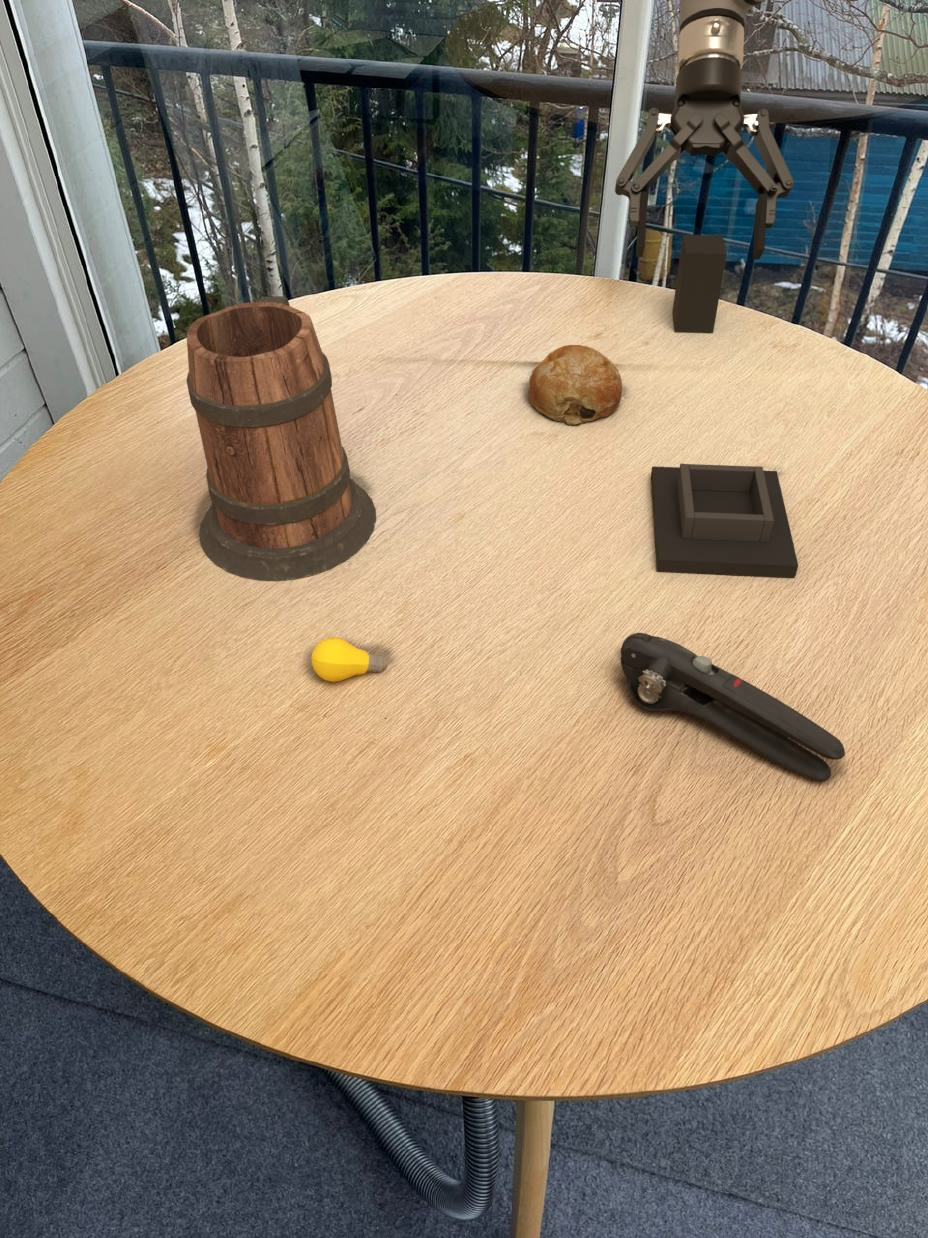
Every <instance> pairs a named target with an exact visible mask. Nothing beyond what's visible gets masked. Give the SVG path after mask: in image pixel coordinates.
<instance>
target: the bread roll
mask: <svg viewBox="0 0 928 1238" xmlns="http://www.w3.org/2000/svg"><path fill="white" fill-rule="evenodd" d="M622 381H623V380H622V376H621V373H620V371H619V369H618V368H617V366H616V365H615V363H613V361H612V360H611V359H610V358H608V357H606V356H605V355H604V354H603V353H602V352H600V351H599V350H596V349H595V348H593V347H589V346H587V345H581V344H567V345H563V346H560V347H558V348H556V349H555V350H553V351H551V352H549V353H548V354H547V355H546V357H545V358H543V360H542V361H541V362H539V363H537V364H536V365H535V366H534V368H533V369H532V371H531V374H530V376H529V381H528V382H529V384H528V385H529V390H528V397H529V398H528V399H529V401H530V404H531V405H532V406H533V407H534V408H535V409H536V410H537V412H539V413H541V414H543V415H544V416H546V417H547V418H549V419H551V420H553V421H556V422H557V421H558V422H561V423H566V424H567V425H569V426H574V425H578V424H582V423H583V424H584V423H586V422H587V423H588V422H593V421H596V420H598V419H601V418H607V417H608V416H610V415H612V414H613V413H614V412H615V411H616V410H617V408H618V406H619V405H620V403H621V399H622V395H623V394H622V393H623V382H622Z"/></svg>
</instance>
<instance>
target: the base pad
mask: <svg viewBox="0 0 928 1238" xmlns="http://www.w3.org/2000/svg"><path fill="white" fill-rule="evenodd" d="M650 491H651V505H652V521H653V536H654V549H655V551H654V552H655V565H656V568H655V569H656V572H657V573H678V574H679V573H681V574H699V575H700V574H702V575H720V576H722V575H723V576H742V577H743V576H744V577H761V578H762V577H764V578H782V579H783V578H785V579H795V578H796V576H797V572H798V568H799V561H798V558H797V554H796V549H795V544H794V540H793V536H792V532H791V527H790V523H789V518H788V513H787V510H786V504H785V501H784V496H783V493H782V488H781V483H780V479H779V474H778V471H777V470H764V467H763V466H757V465H756V466H755V465H754V466H753V465H752V466H750V465H728V464H727V465H726V464H724V465H723V464H700V463H699V464H697V463H689V464H688V463H680V464H679V467H678V466H652V467H651V472H650Z"/></svg>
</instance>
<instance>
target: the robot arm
mask: <svg viewBox="0 0 928 1238" xmlns="http://www.w3.org/2000/svg"><path fill="white" fill-rule="evenodd" d="M765 1H766V0H680V13H679V30H678V41H677V54H676V55H677V56H676V57H677V59H676V74H677V75H676V78H675V92H674V93H675V94H674V110H673V112H672V113H662V112H660V110H659V109H658V108H657V107H651V108H650V109H649V111H648V115H647V119H646V124H645V128H644V129H643V132H642V133H641V135H640V137H639V139H638V140H637V142H636V144H635V146H634V148H633V149H632V151H631V153H630V155H629V156H628V158H627V160H626V162H625V164H624V165H623V167H622V169H621V171H620V172H619V174H618V176H617V178H616V180H615V187H614V193H615V194H616V195H617V196H625V197H627V199H628V200H629V201H628V202H629V204H628V205H629V207H628V209H629V210H628V225H629V227H637V231H636V233H637V234H636V249H635V254H636V255H635V257H636V258H643V255H644V252H645V248H646V230H647V216H648V215H647V213H648V199H649V197H648V195H649V193H648V190H649V189H650V188H651V187H652V186H653V185H654V183H655V182H656V181H657V180H658V179H660V177H661V176H662V175H663V174H664V173H665V171H666V170H667V169H669V167H670V166H671V165H672V164H673V163H674V162H675V161H677V160H678V159H679V158H680V157H681V155H683V153H686V154H689V156H690V157H698V156H701V155H705V156H708V157H717V156H718V155H719V154H721V153H722V155H723V156H724V157H725V158H726V160H727V161H729V162H731V163H732V164H733V165H734V166H735V168H736V169H737V171H739V173H740V174H741V175H742V177H743V178H744V179H745V180H746V181H747V183H748V184H749V185H750V186H751V188H752V189H753V191H755V192H756V195H758V196H759V197H758V199H757V200H756V203H755V210H754V211H755V212H754V230H753V233H754V234H753V244H752V245H753V247H752V249H753V250H752V260H760V259H761V258H762V255H763V254H764V252H765V249H766V248H765V247H766V230H768V229H772V227H773V225H774V223H775V221H776V213H777V211H776V210H777V200H778V199H781V198H782V199H785V198H787V197H788V196H789V194H790V193H791V191H792V189H793V187H794V185H795V180H794V178H793V176H792V174H791V171H790V170H789V168H788V165H787V163H786V160H785V159H784V156H783V154H782V152H781V149H780V147H779V146H778V143H777V140H776V138H775V136H774V135H773V132H772V129H771V127H770V114H769V110H768V109H766V108H761V109H759V110H758V111H757V113H750V114H744V113H743V111H742V108H741V107H742V106H741V105H742V104H741V103H742V102H741V101H742V88H743V87H742V84H743V71H742V69H743V65H744V46H745V28H746V19H747V17H746V16H747V13H748V11H749V10H751V9H752V8H754V7H756V6H759V5H760V4H762V3H764V2H765ZM666 128H669V131H670V132H671V133H672V135H673V136H674V137H673V138H672V139H671V140H670V142H669V143H668V144H667V146H666V147H665V148H664V149H663V150H662V151H661V152H660V153H659V154H658V155H657V156H656V158H654V159H653V161H651V163H650V164H649V165H648V166H647V167H646V169H645V170H643V172H642V173H641V174H640V175H639V176H638V177H637V178H636V179H635V180H634V181H632V180H633V178H634V177H635V175H636V173H637V171H638V169H639V167H640V166H641V164H642V163H643V161H644V159H645V157H646V155H647V154H648V152H649V150H650V148H651V146H652V144H653V142H654V140H655V137H656V136H659V135H661V134H662V133H663V132H664V129H666ZM742 128H744V129H746V130H747V132H748V134H749V136H751V137H753V139H754V143H755V145H756V148H757V150H758V152H759V154H760V157H761V159H762V161H763V163H764V165H765V168H766V169H764V167H763V166H762V165H761V164H760V162H759V161H758V160H757V158H756V157H755V156H754V155H753V154H752V153H751V151H750V150H749V149H748V148H747V146H746V144H745V143H744V140H743V138H742V136H740V134H739V133H740V132H741V130H742ZM766 170H767V171H766Z"/></svg>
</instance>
